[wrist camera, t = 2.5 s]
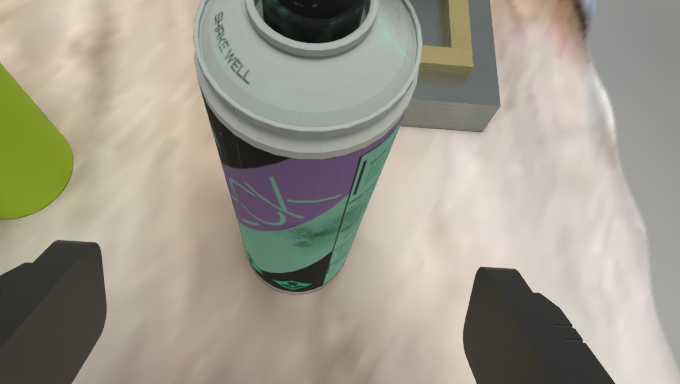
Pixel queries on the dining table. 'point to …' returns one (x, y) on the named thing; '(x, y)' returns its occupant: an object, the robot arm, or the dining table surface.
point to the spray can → (304, 120)
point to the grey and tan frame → (454, 67)
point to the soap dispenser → (28, 153)
